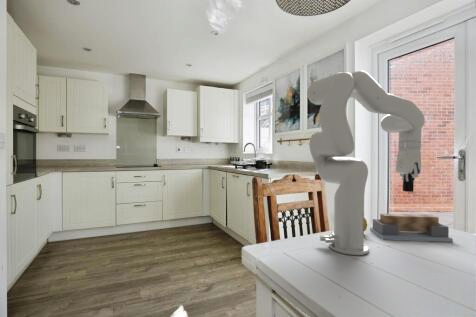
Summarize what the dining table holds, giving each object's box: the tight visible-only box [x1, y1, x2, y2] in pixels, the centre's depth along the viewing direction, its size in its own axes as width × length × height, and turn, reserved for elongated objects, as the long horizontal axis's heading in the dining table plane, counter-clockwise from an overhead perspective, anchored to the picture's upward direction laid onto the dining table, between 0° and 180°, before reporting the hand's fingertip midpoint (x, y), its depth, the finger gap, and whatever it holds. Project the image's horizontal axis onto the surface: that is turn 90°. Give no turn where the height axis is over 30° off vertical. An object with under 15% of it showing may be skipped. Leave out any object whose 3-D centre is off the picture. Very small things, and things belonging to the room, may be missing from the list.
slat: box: [379, 213, 440, 232], centre depth 102 cm, size 20×4×6 cm, turn 84°
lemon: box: [364, 217, 368, 232], centre depth 104 cm, size 6×6×8 cm
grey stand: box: [369, 218, 454, 243], centre depth 102 cm, size 25×12×5 cm, turn 84°
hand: (407, 191), depth 102 cm, fingers closed
